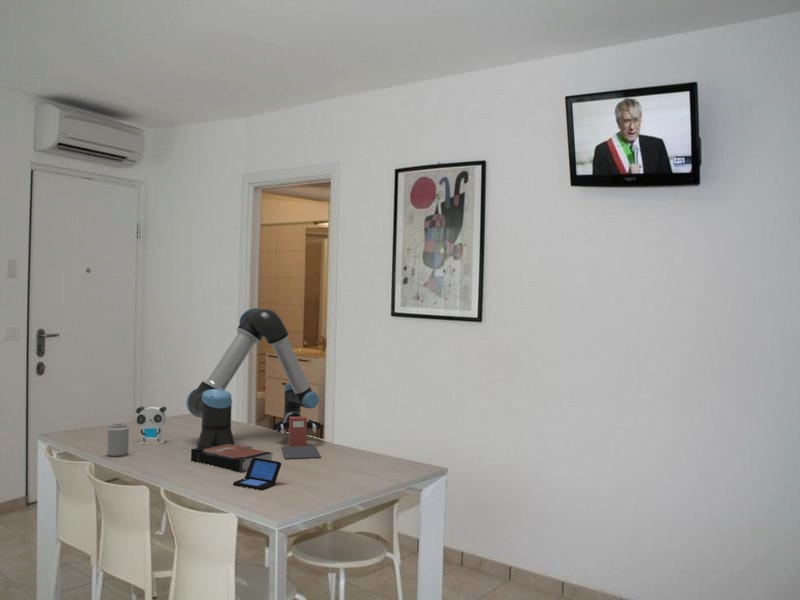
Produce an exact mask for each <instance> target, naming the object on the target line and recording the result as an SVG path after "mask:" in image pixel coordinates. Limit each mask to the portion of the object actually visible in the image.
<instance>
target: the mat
mask: <svg viewBox="0 0 800 600" xmlns="http://www.w3.org/2000/svg"><path fill="white" fill-rule="evenodd" d="M280 448H281V452H282V456H283V458H284V460H305V459H306V460H308V459H311V458H313V459H322V456H321V454H320V452H319V451H318V449H317V446H316V445H306V446H289V445H287V446H281V447H280Z"/></svg>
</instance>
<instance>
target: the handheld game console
mask: <svg viewBox="0 0 800 600" xmlns="http://www.w3.org/2000/svg"><path fill="white" fill-rule="evenodd" d="M281 467H282V462H280V461H277V460H265V459H259V458H253V459H252V460H251V462H250V465H249V468H248V470H247V471H246V474H245V476H244V478H241V479H238V480H236V481H233V483H232V485H233V486H235V485H236V487H240V486H242V487H241V488H245V487H248V488H247V489H250V488H254V489H253V490H256V489H259V490H258V491H264V489H265V490H268V489H269V487H270V488H272V487H274V485H275V486H276V481H277V478H278V476H279V473H280V471H281V470H280V469H281ZM271 486H272V487H271Z"/></svg>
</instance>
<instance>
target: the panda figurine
mask: <svg viewBox="0 0 800 600" xmlns="http://www.w3.org/2000/svg"><path fill="white" fill-rule="evenodd" d="M166 411H167V407H166V406H161V407H158V406H150V407H147V408H145V407H144V406H139V407H137V408H136V409H135V413H136V414H138V415H137V417H136V423H137V426H138V427H139V428H140V429H141V430H140V433H141V435H142V440H143V442H146V441H147V440H148V439H157V441H158V442H160V441H161V440H162V439H163V438H162V437H163V436H162V433H163V432H162V429H163V428H162V427H163V426H164V425H165V424H166V421H167V415H166Z"/></svg>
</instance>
